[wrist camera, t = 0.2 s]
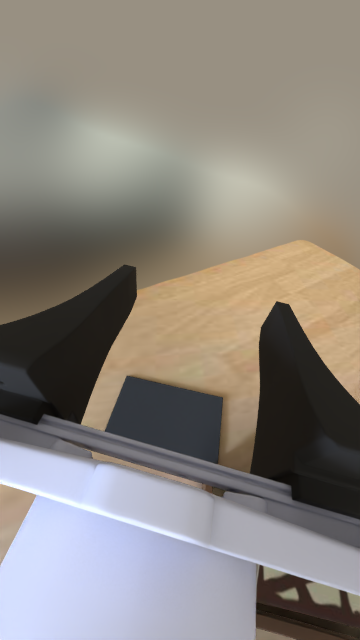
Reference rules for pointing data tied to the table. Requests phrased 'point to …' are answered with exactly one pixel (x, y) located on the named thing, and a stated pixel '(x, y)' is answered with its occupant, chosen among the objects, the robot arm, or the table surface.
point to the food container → (306, 597)
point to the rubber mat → (168, 418)
